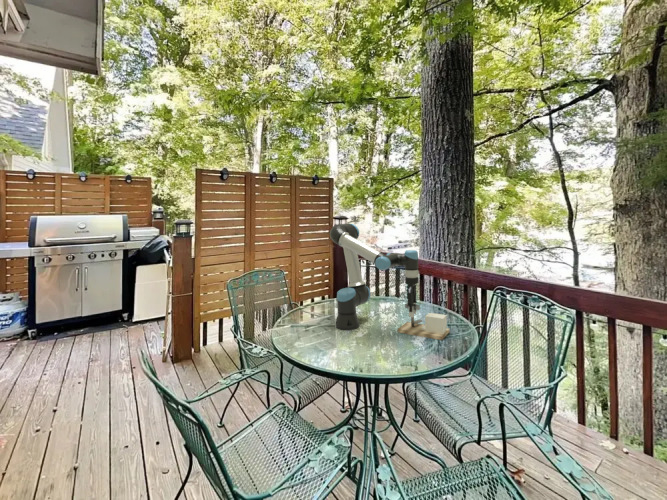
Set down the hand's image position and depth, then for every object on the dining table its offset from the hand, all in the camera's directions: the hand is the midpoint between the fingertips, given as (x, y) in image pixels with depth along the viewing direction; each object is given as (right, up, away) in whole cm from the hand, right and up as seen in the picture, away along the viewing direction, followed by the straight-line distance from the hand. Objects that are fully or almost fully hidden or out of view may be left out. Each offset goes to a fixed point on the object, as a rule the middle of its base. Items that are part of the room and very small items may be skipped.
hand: (412, 315), depth 199 cm
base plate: (+6, -9, -3) cm, 11 cm away
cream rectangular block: (+11, -8, -6) cm, 14 cm away
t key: (+3, -6, +3) cm, 7 cm away
